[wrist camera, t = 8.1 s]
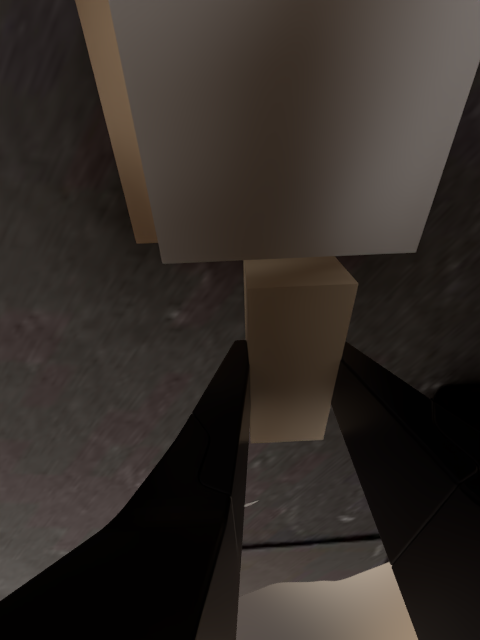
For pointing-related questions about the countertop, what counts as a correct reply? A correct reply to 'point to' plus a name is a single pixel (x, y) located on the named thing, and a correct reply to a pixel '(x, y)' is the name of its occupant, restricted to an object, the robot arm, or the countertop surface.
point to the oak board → (117, 113)
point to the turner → (294, 158)
